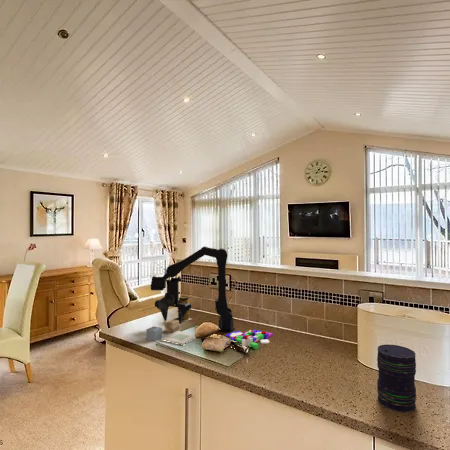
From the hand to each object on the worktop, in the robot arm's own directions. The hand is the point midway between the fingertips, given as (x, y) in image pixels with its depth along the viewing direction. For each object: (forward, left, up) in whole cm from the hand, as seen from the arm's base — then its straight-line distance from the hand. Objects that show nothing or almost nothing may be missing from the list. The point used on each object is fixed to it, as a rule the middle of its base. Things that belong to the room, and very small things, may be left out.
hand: (172, 322), depth 156 cm
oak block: (0, 0, -4) cm, 4 cm away
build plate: (-11, +8, -4) cm, 14 cm away
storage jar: (-97, +19, -4) cm, 99 cm away
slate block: (0, +13, -4) cm, 14 cm away
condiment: (+7, -17, -4) cm, 19 cm away
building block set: (-37, -6, -5) cm, 38 cm away
